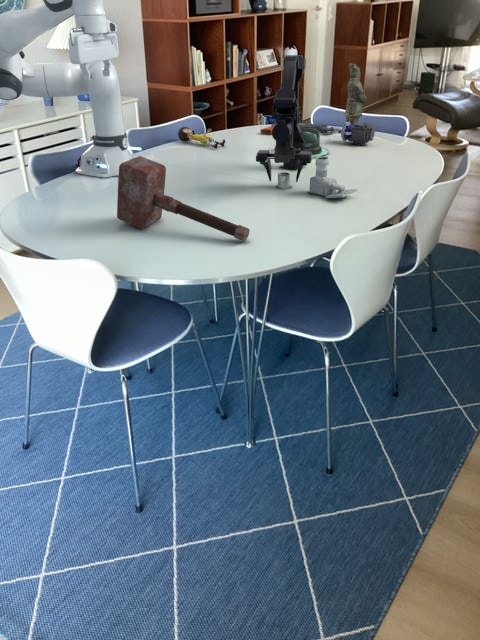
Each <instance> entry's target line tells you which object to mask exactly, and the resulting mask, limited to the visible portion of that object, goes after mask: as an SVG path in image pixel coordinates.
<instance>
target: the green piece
mask: <svg viewBox="0 0 480 640" xmlns="http://www.w3.org/2000/svg"><path fill="white" fill-rule="evenodd" d="M301 130H302V136H303V138H304V140H305V151H311V152H312V159H314V158H316V157H319V156H326V155H327V154H328V150H326V149H325V148H322V146H321V144H320V142H321V132H319V131H318V130H316V129H311V128H301ZM300 148H301V147H300Z"/></svg>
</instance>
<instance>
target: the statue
mask: <svg viewBox="0 0 480 640" xmlns="http://www.w3.org/2000/svg"><path fill="white" fill-rule="evenodd" d="M348 70H349V73H350V75H349V76H350V78H349V81H348V82H347V85H346V90H347V98H346V99H347V100H346V101H347V102H346V106H345V112H344V115H345V123H346V122H350V124H352V127H354V125H355V124H357V125H359V124H358V123H359V121H360V118H361V117H362V116H363V108H364V104H365V103H367V102H368V96H367V95H366V94H365V91H364V86H363V84H362V82H361V68H360V67H359V66H358V65H357V64H356V63H351V62H350V63H348Z"/></svg>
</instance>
